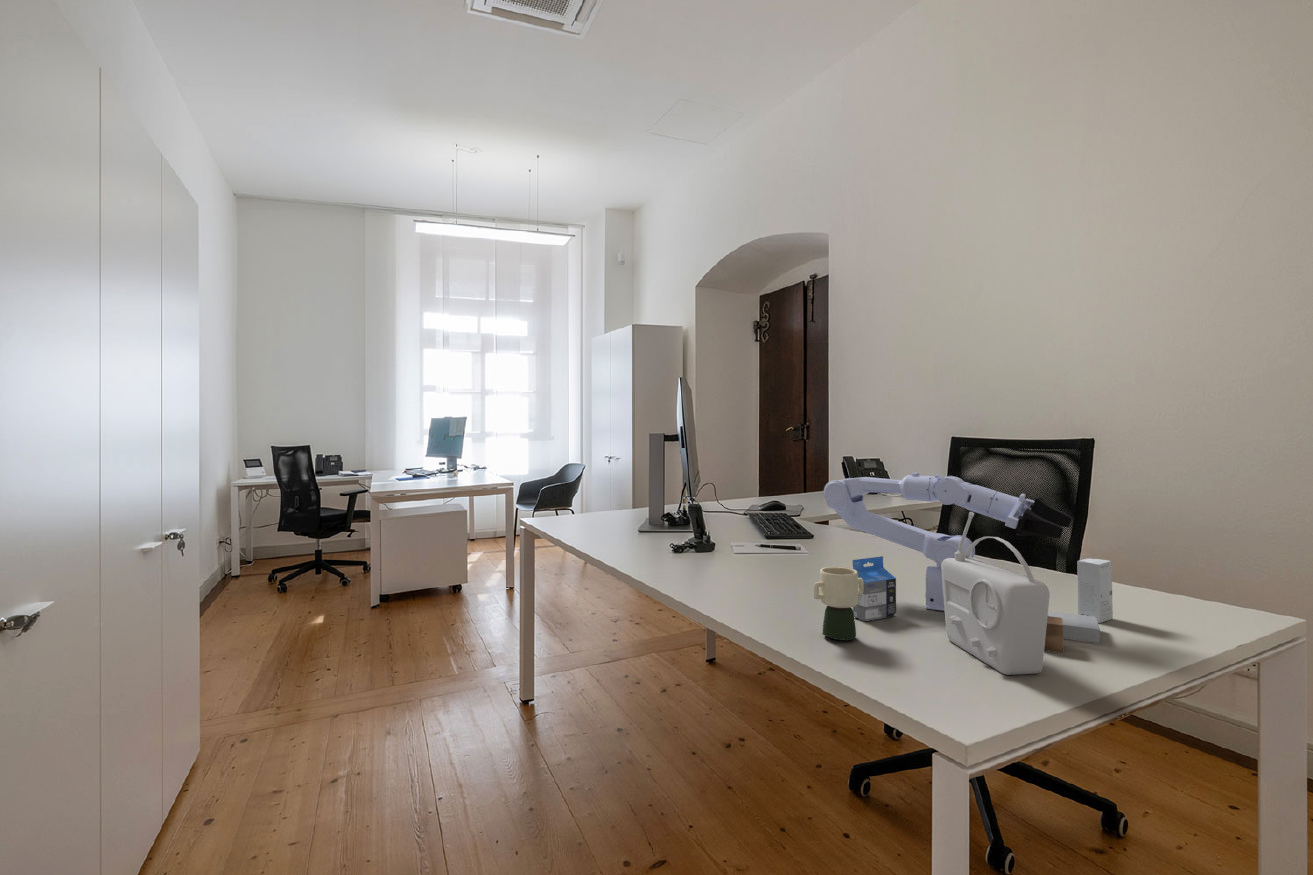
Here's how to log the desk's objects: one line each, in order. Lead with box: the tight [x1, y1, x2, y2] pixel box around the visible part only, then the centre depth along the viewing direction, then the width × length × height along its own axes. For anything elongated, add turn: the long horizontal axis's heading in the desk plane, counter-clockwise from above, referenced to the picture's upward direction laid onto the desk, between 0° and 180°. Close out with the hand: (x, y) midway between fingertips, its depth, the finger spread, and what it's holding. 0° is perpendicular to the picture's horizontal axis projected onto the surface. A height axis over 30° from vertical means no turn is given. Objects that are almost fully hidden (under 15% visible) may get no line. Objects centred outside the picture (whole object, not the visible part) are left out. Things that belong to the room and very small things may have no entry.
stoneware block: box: [1048, 610, 1101, 644], centre depth 121 cm, size 9×9×3 cm
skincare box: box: [1076, 557, 1114, 624], centre depth 130 cm, size 6×4×12 cm
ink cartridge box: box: [852, 555, 897, 622], centre depth 132 cm, size 9×4×12 cm, turn 115°
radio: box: [941, 511, 1050, 676], centre depth 109 cm, size 22×8×25 cm, turn 4°
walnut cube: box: [1044, 616, 1064, 654], centre depth 114 cm, size 5×5×5 cm
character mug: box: [813, 566, 864, 641], centre depth 119 cm, size 11×7×13 cm, turn 108°
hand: (1066, 527), depth 124 cm, fingers open, 7 cm apart
